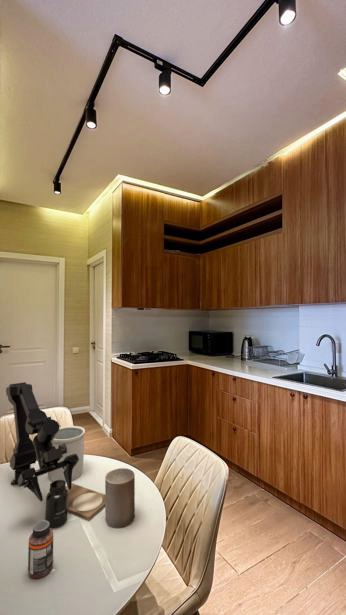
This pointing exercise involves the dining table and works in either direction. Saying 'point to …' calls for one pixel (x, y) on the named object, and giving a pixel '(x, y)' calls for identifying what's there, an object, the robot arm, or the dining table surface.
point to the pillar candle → (119, 497)
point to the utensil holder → (69, 450)
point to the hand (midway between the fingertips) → (56, 495)
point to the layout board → (84, 502)
